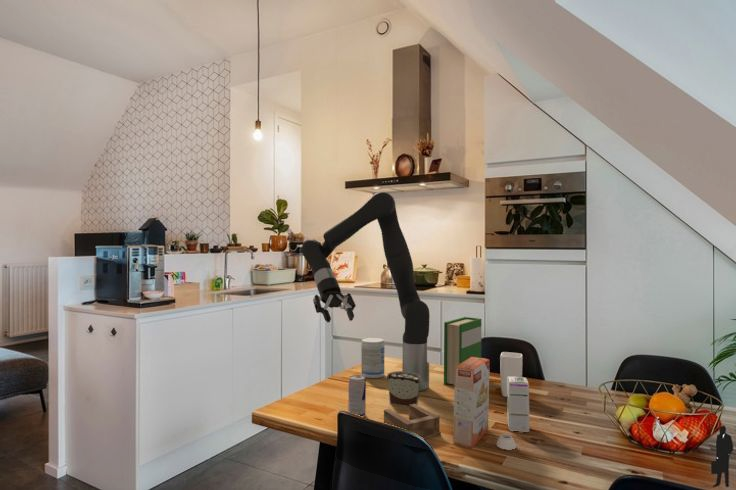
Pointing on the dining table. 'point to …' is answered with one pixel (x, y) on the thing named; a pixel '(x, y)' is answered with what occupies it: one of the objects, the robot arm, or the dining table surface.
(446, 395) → the dining table surface
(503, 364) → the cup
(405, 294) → the robot arm
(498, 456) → the dining table surface
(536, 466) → the dining table surface
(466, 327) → the hardback book
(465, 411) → the cracker box
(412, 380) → the food container
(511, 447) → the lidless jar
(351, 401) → the energy drink
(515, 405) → the syrup box
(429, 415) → the walnut cradle
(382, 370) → the supplement tub
